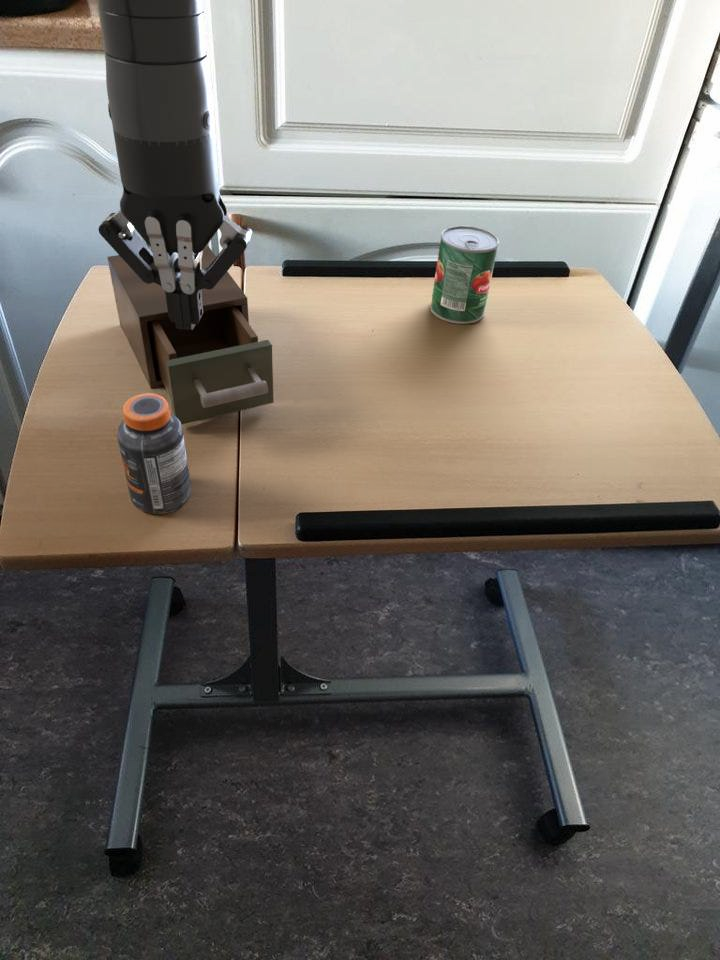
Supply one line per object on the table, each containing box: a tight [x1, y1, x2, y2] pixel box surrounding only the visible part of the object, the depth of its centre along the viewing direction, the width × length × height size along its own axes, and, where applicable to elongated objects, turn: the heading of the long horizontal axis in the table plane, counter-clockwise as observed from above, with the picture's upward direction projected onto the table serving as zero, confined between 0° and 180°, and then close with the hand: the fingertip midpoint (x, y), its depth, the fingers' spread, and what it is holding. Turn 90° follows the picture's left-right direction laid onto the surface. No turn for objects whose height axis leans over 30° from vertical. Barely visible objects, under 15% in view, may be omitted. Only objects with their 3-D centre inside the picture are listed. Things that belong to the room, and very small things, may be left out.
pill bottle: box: [116, 393, 192, 515], centre depth 67 cm, size 6×6×11 cm
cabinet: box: [106, 244, 250, 389], centre depth 88 cm, size 16×13×10 cm
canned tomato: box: [429, 225, 500, 325], centre depth 99 cm, size 8×8×11 cm
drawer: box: [147, 306, 274, 426], centre depth 80 cm, size 19×11×8 cm, turn 27°
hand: (186, 324), depth 65 cm, fingers closed
